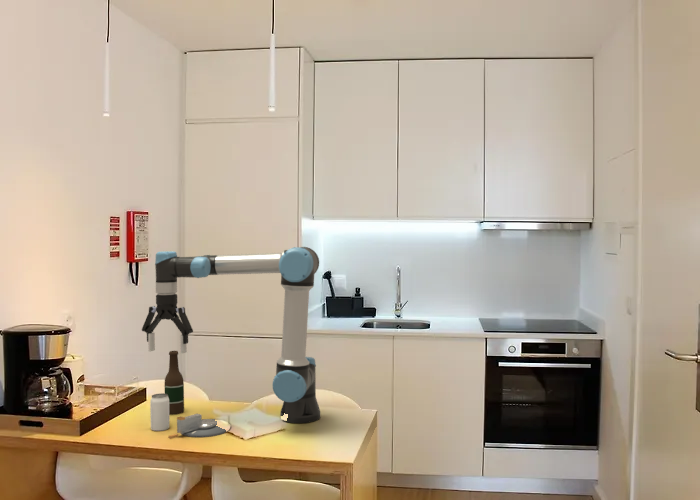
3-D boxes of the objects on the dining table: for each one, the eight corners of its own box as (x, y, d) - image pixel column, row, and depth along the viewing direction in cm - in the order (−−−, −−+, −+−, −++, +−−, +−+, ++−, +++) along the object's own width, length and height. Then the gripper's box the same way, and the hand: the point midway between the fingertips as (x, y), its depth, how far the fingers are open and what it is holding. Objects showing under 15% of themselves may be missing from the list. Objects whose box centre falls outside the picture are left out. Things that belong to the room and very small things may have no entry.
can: (165, 431, 220) (165, 397, 220) (147, 431, 221) (147, 397, 220) (172, 425, 227) (171, 393, 226) (154, 425, 227) (154, 392, 227)
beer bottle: (187, 409, 248) (186, 349, 247) (180, 415, 240) (179, 353, 239) (168, 409, 248) (167, 349, 248) (160, 414, 241) (159, 353, 240)
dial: (207, 420, 228) (206, 406, 228) (221, 424, 223) (221, 410, 223) (172, 431, 216) (172, 415, 216) (186, 435, 211) (186, 420, 211)
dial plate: (240, 424, 228) (240, 421, 228) (214, 439, 211) (214, 436, 211) (197, 419, 234) (197, 416, 234) (168, 434, 217) (168, 431, 217)
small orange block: (176, 435, 215) (176, 433, 215) (178, 436, 214) (178, 434, 214) (168, 437, 213) (168, 435, 213) (170, 438, 212) (170, 436, 212)
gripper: (202, 293, 227) (202, 351, 227) (144, 292, 235) (145, 348, 235) (190, 295, 220) (191, 355, 220) (131, 293, 228) (132, 351, 228)
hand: (167, 351), depth 228 cm, fingers open, 13 cm apart
